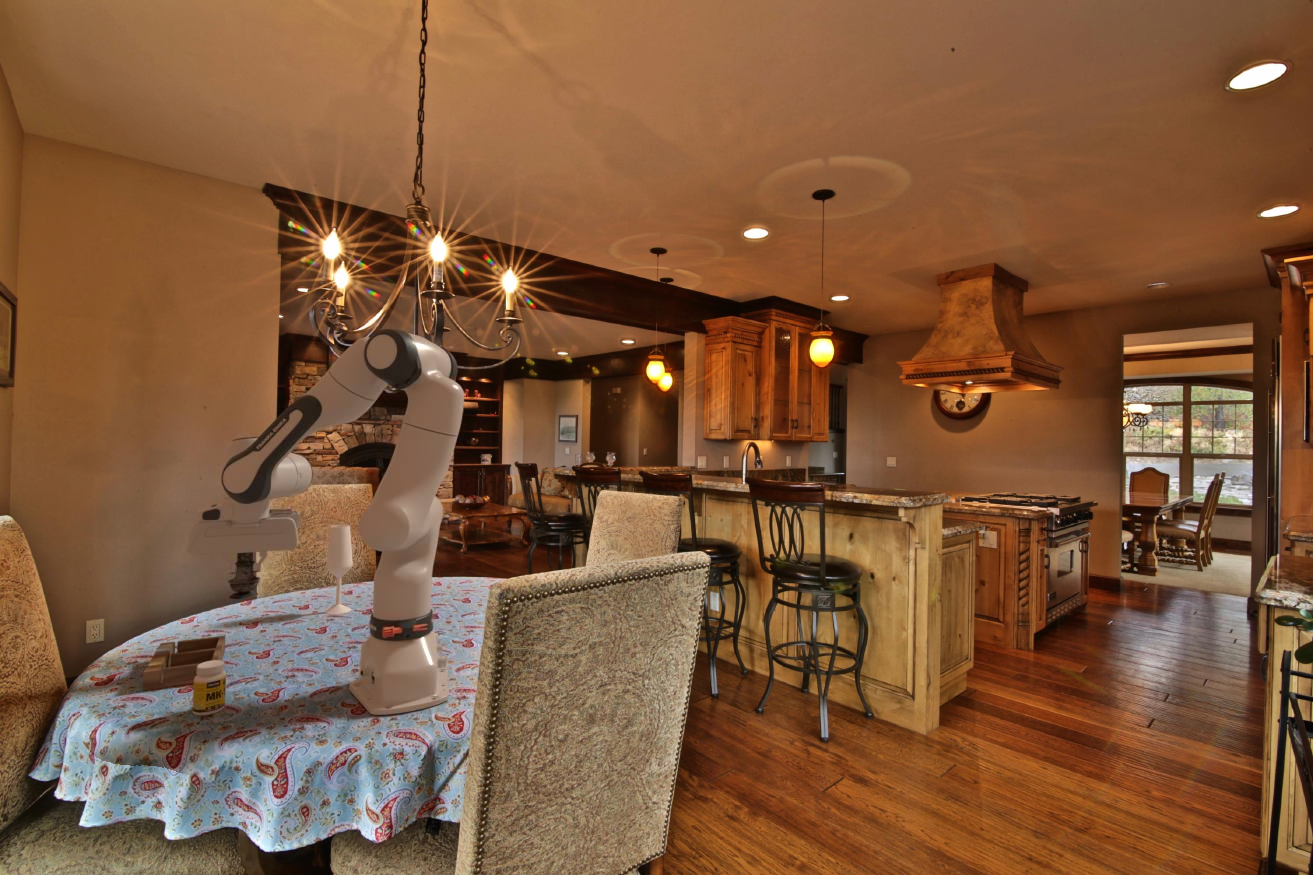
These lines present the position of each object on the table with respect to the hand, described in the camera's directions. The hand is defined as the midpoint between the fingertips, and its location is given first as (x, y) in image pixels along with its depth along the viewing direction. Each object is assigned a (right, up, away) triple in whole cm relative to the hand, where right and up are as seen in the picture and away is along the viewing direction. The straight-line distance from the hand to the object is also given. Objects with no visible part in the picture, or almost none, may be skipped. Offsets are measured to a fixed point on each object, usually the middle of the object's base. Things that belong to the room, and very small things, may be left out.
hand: (244, 572), depth 133 cm
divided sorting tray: (-8, -19, -6) cm, 21 cm away
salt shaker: (0, -5, 0) cm, 5 cm away
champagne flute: (+1, -19, +37) cm, 41 cm away
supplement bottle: (+10, -20, -24) cm, 32 cm away
